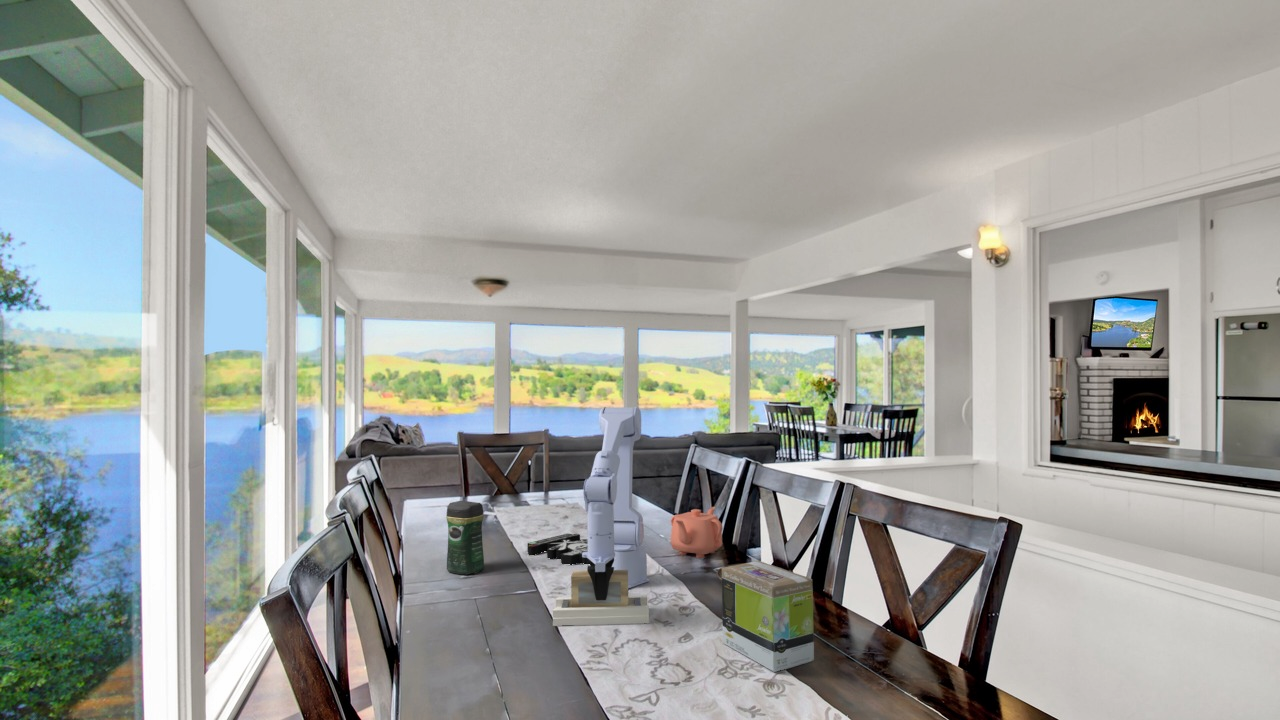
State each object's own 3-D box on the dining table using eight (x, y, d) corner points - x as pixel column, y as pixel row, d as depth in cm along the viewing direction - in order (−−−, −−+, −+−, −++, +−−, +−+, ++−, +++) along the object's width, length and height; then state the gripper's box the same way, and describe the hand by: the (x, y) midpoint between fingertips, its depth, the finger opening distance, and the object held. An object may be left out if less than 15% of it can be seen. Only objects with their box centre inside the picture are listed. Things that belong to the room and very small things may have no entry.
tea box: (816, 661, 114) (814, 578, 115) (773, 674, 109) (771, 587, 110) (761, 632, 127) (759, 558, 128) (720, 643, 122) (719, 566, 123)
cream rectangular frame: (647, 607, 142) (646, 594, 142) (649, 623, 133) (649, 608, 133) (556, 610, 141) (556, 596, 141) (552, 626, 132) (552, 611, 132)
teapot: (715, 545, 195) (714, 503, 195) (729, 560, 178) (728, 514, 179) (667, 547, 193) (666, 505, 193) (676, 562, 176) (675, 516, 177)
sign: (571, 532, 202) (640, 548, 182) (571, 542, 202) (640, 559, 182) (522, 544, 188) (590, 563, 168) (522, 554, 188) (590, 574, 168)
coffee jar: (489, 569, 173) (488, 500, 173) (468, 577, 166) (467, 505, 166) (462, 564, 177) (462, 497, 178) (441, 572, 170) (441, 502, 171)
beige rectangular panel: (573, 603, 139) (572, 570, 139) (628, 602, 139) (627, 569, 139) (571, 610, 135) (571, 576, 135) (628, 609, 135) (627, 575, 135)
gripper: (583, 525, 144) (584, 585, 144) (580, 541, 130) (580, 608, 130) (614, 524, 145) (615, 584, 144) (614, 540, 130) (615, 607, 130)
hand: (601, 596), depth 137 cm, fingers closed on beige rectangular panel, 4 cm apart
